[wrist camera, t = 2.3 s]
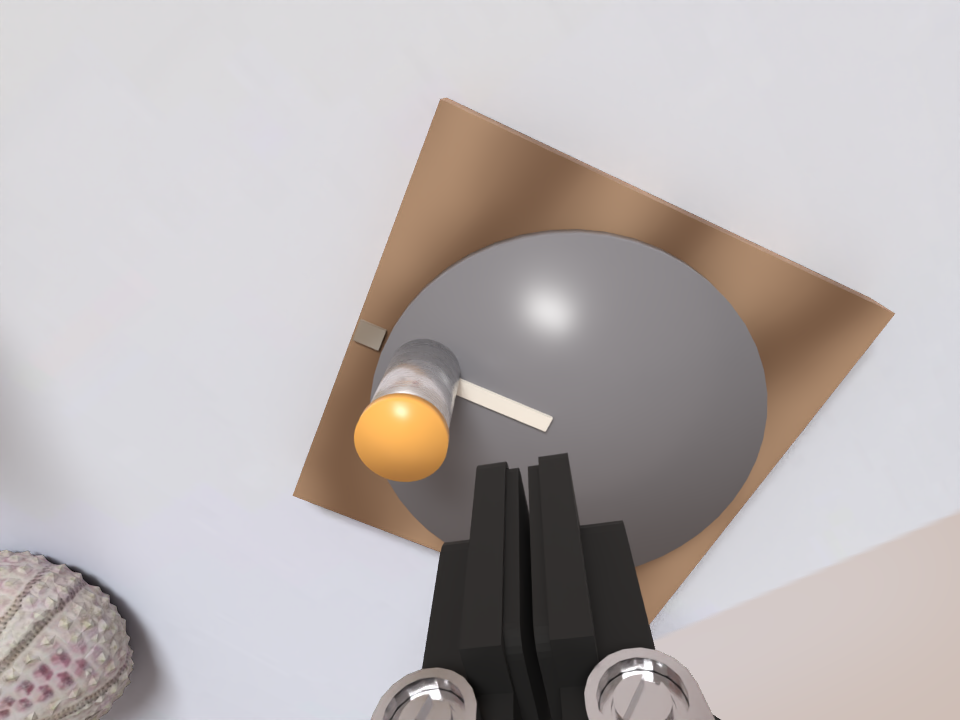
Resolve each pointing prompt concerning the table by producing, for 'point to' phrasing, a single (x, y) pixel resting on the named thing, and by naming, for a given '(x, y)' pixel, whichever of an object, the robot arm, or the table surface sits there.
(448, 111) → the dial board
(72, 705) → the sea urchin shell
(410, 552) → the table surface
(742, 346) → the dial
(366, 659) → the table surface
